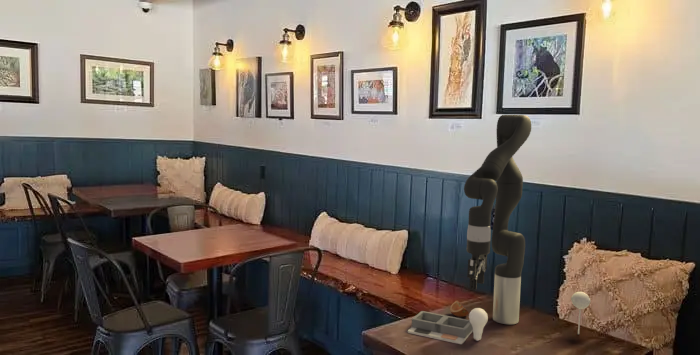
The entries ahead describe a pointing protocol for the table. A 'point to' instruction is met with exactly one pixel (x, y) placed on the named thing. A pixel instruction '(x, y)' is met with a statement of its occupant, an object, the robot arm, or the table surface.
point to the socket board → (441, 327)
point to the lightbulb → (478, 322)
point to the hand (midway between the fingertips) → (476, 286)
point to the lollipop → (580, 303)
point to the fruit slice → (458, 309)
